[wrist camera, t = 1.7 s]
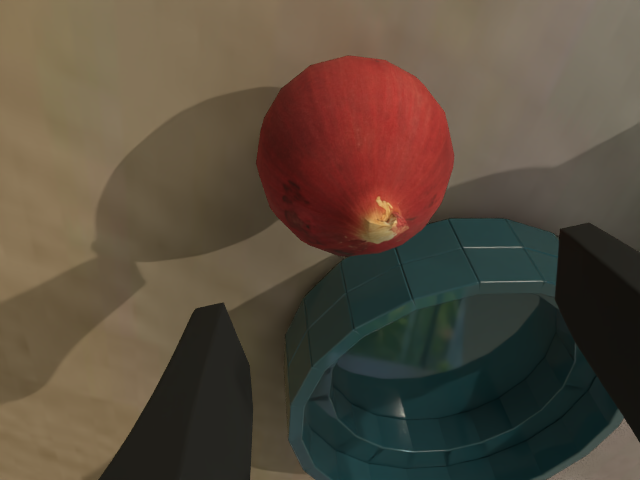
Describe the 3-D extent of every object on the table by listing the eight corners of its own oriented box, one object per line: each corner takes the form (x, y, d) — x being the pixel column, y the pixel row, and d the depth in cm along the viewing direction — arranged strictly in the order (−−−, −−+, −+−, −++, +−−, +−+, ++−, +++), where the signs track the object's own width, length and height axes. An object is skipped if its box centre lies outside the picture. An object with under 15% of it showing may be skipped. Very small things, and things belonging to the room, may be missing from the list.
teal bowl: (642, 210, 25) (710, 278, 21) (539, 426, 34) (574, 500, 30) (289, 211, 23) (296, 285, 19) (280, 439, 32) (284, 519, 28)
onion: (363, 199, 23) (408, 350, 16) (229, 141, 21) (221, 288, 14) (450, 72, 20) (544, 194, 14) (305, -10, 18) (336, 89, 11)
